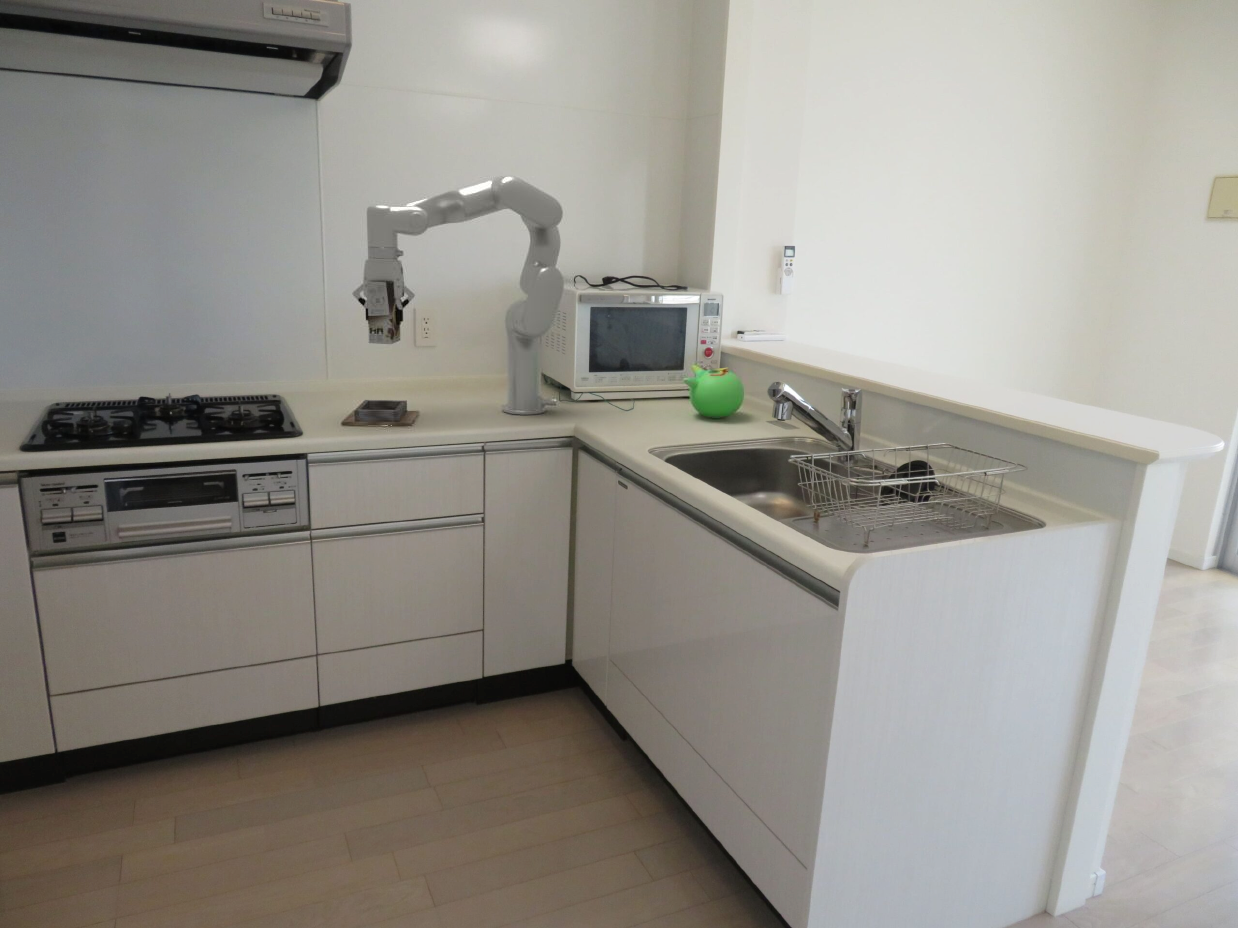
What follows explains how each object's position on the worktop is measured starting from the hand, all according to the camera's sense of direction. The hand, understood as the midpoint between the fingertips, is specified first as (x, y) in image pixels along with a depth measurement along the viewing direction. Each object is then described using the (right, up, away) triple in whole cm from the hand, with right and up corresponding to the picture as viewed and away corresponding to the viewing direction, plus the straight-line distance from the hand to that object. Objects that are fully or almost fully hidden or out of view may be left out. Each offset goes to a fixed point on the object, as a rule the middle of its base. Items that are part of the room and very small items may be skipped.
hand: (384, 323), depth 237 cm
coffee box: (0, -5, +1) cm, 5 cm away
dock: (-3, -25, +7) cm, 26 cm away
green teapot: (+89, -23, +25) cm, 96 cm away
